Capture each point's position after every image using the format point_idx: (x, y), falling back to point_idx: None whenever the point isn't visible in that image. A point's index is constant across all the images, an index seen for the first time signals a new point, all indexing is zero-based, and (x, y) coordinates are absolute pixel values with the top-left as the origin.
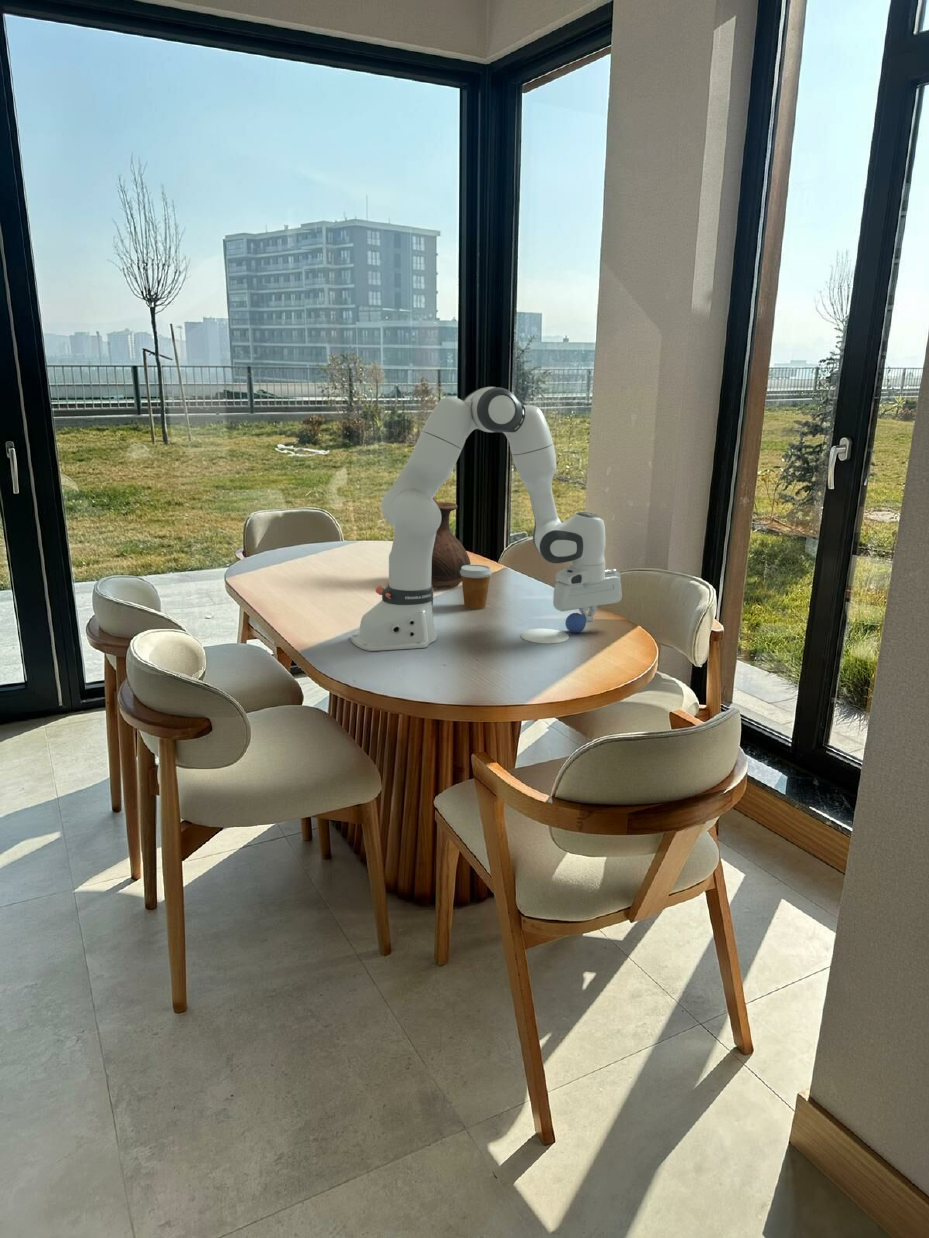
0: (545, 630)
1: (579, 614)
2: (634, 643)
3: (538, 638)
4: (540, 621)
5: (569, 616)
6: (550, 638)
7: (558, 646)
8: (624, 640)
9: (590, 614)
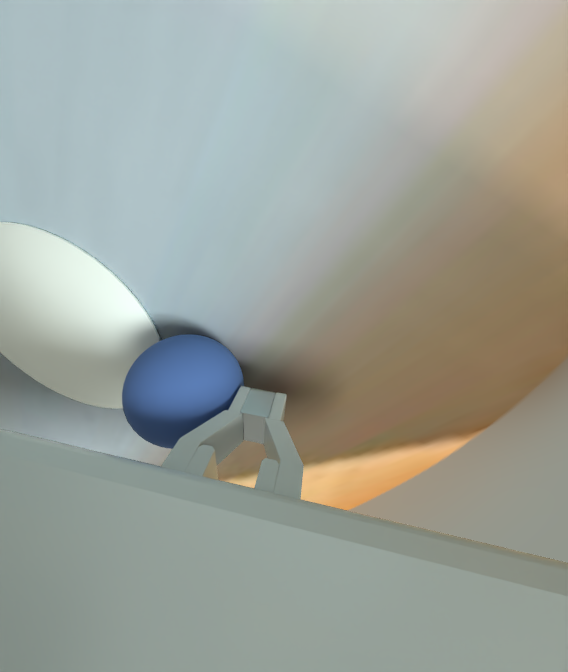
0: (78, 280)
1: (174, 445)
2: (322, 496)
3: (38, 352)
4: (78, 21)
5: (123, 408)
6: (84, 372)
7: (101, 423)
8: (318, 476)
9: (266, 442)
